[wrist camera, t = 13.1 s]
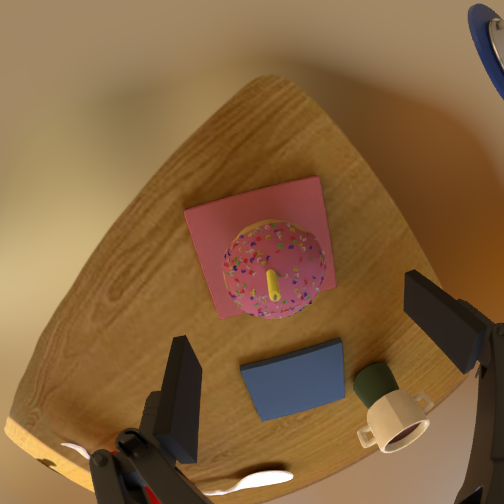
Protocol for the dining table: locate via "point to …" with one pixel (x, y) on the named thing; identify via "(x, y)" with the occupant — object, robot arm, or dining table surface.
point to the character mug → (389, 409)
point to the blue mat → (296, 380)
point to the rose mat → (250, 212)
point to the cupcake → (273, 268)
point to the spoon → (256, 481)
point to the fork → (78, 448)
